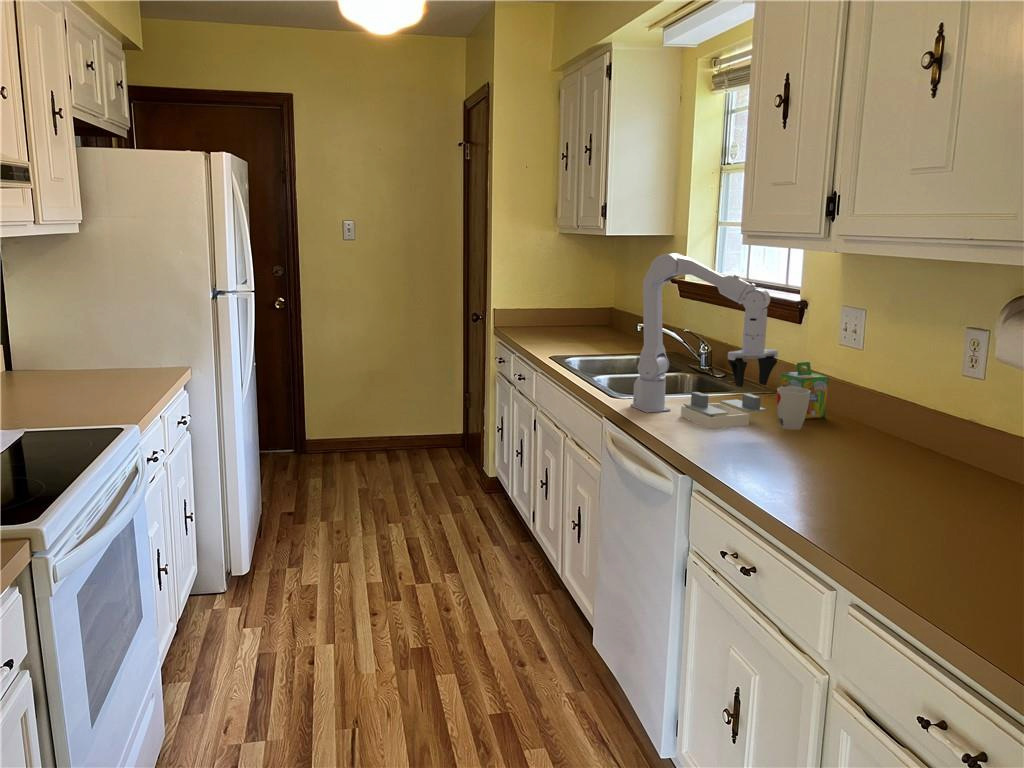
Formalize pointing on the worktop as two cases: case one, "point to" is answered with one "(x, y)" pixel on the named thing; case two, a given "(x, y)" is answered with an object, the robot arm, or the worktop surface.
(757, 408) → the flap far
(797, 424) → the cup
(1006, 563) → the worktop surface
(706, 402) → the flap near
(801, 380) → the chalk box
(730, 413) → the carton
